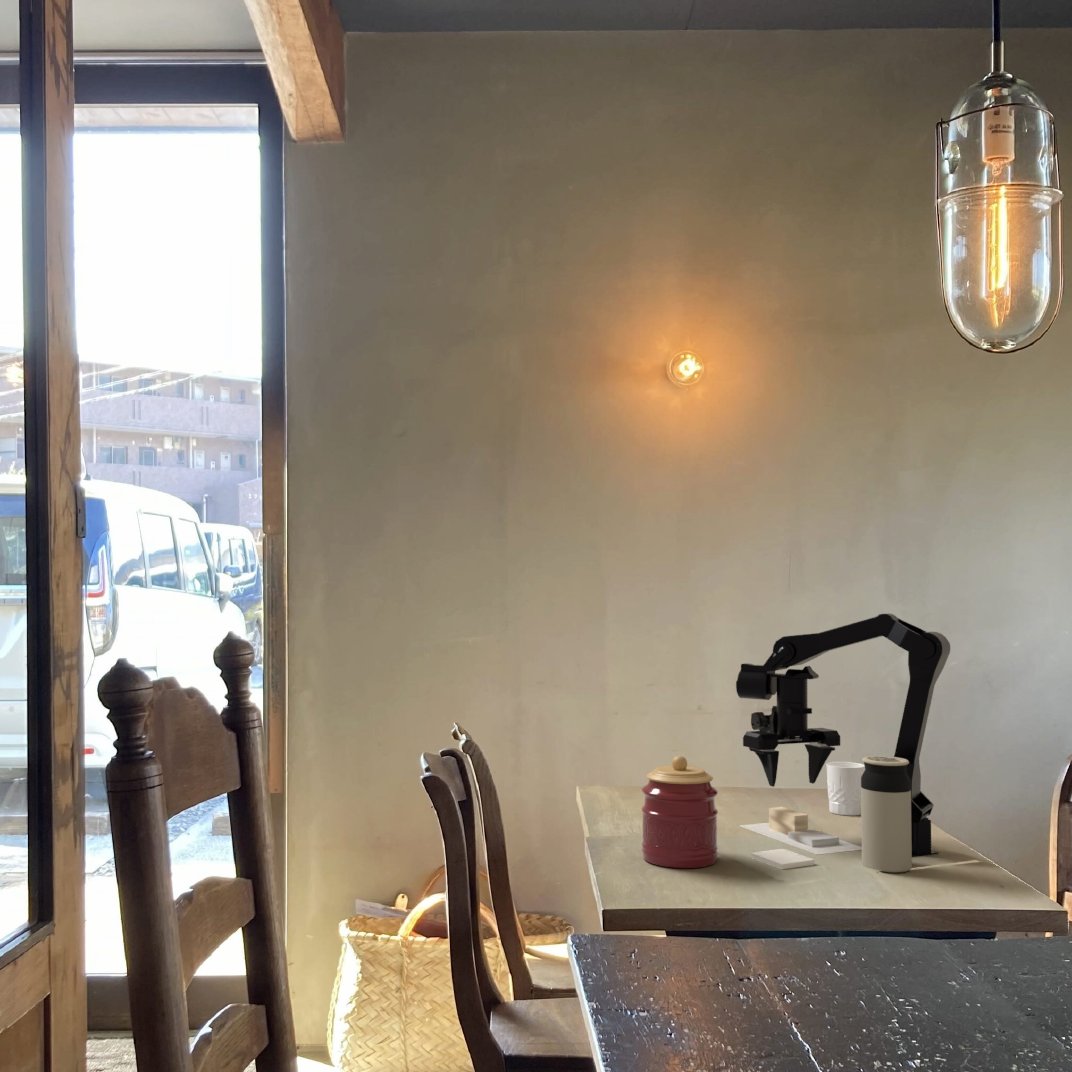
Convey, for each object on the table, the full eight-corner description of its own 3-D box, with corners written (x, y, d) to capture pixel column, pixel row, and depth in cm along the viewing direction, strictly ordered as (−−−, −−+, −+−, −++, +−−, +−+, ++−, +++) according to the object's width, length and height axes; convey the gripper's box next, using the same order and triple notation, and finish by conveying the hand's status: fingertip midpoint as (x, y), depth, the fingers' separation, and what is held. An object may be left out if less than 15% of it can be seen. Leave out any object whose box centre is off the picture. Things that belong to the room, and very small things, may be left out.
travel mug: (879, 875, 168) (878, 763, 169) (852, 863, 176) (851, 756, 177) (922, 872, 170) (920, 762, 171) (893, 860, 178) (891, 754, 179)
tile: (782, 858, 180) (814, 869, 173) (750, 862, 177) (781, 874, 170) (782, 848, 180) (814, 859, 173) (750, 852, 177) (781, 864, 170)
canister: (721, 853, 181) (721, 752, 182) (713, 872, 169) (713, 763, 170) (648, 848, 185) (648, 748, 186) (635, 866, 172) (635, 759, 173)
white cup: (861, 809, 220) (860, 762, 221) (869, 817, 212) (869, 768, 213) (823, 808, 221) (823, 761, 222) (830, 815, 213) (830, 767, 214)
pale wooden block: (839, 844, 187) (838, 821, 187) (812, 847, 185) (811, 824, 185) (788, 826, 201) (788, 806, 201) (762, 829, 199) (762, 808, 199)
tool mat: (867, 851, 184) (867, 848, 184) (817, 856, 180) (817, 854, 180) (784, 823, 206) (784, 821, 206) (738, 827, 202) (738, 825, 202)
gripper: (805, 696, 207) (805, 774, 206) (726, 699, 200) (726, 780, 199) (842, 701, 197) (842, 784, 196) (760, 705, 190) (760, 790, 189)
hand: (792, 784), depth 195 cm, fingers open, 9 cm apart
